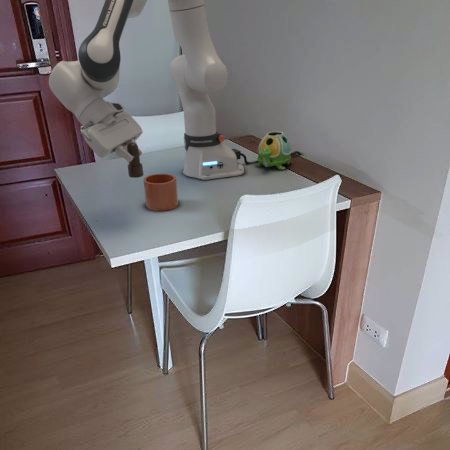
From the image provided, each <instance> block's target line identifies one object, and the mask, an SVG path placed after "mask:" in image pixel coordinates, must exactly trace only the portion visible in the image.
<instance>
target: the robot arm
mask: <svg viewBox="0 0 450 450" xmlns="http://www.w3.org/2000/svg"><path fill="white" fill-rule="evenodd" d="M167 2H168V3H167V4H168V5H167V6H168V9H169V16H170V21H171V25H172V32H173V36H174V40H175V41H176V42H177V44H178V46H180V49H181V50H182V52H183V54H180V55H178V56H176V57H174V58H173V60H172V61H171V62H170V65H169V74H170V78H171V80H172V81H173V83H174V84H175V86H176V89H177V93H178V95H179V99H180V103H181V107H182V112H183V121H184V133H183V146H184V150H185V156H184V157H185V158H184V166H183V171H182V173H183V174H184V175H185V176H187V177H191V178H196V179H199V180H202V181H207V180H214V179H222V178H223V179H224V178H227V177H228V178H231V177H237V176H242V175H243V174H244V173H245V168H244V166H243V165H242V163H239V162H238V160H241V157H243V161H244V163H245V164H246V165H252V164H258V163H259V162H258V160H255V161H251V162H249V161H248V160H247V155H246V154H244V153H242V151H241V150H238V149H237V148H231V147H229V146H227V145H226V144H225V143H224V141H225V136H224V135H223V134H222V133H220V131H217V115H216V113H217V111H216V108H215V106H214V104H213V103H212V101H211V98H210V96H209V94H216V93H220V92H221V91H223V90H224V89H225V88H226V86H227V83H228V80H229V73H228V68H227V66H226V65H225V64H224V62H223V61H222V60H221V58H220V56H219V54H218V53H217V50H216V48H215V45H214V42H213V40H212V37H211V34H210V30H209V24H208V17H207V13H206V6H205V0H167ZM147 3H148V0H104V3H103V6H102V9H101V11H100V14H99V17H98V18H97V22H96V25H95V26H94V28H93V29H92V31H91V32H90V33H89V34H88V35H87V36H86V37H85V38H84V40H83V41H82V42H81V44H80V46H79V48H78V55H77V56H78V60H74V61H73V60H72V61H65V60H61V61H59V62H57V63H56V64H55V65H53V68H52V69H51V70H50V73H49V75H48V86H49V89H50V91H51V92H52V93H53V95H54V96H55V97H56V99H58V101H59V102H60V103H61V104H62V105H63V106H64V107H65V108H66V110H68V111H69V112H71V113H72V114H73V115H74V116H75V118H76V119H77V121H78V122H79V123H80V124H81V126H80V131H79V132H80V134H81V136H82V137H83V138H84V141H85V142H86V144H87V145H88V146H89V148H90V149H91V150H92V151H93V153H95V155H96V156H97V157H99V158H101V159H104V158H106V157H107V156H108V157H109V155H112V154H113V153H115V154H116V155H117V156H119V157H121V158H123V159H125V161H126V162H127V163H129V162H131V161H132V160H133V159H134V156H133V155H132V153H131V152H130V153H128V151H127V150H125V149H124V147H127V146H128V144H129V143H136V144H137V140H138V139H139V138H140V137H141V136H142V135H143V129H142V127H141V125H140V124H139V122H137V121H136V119H134V118H133V116H132V115H131V114H130V113H128V112H127V111H125V107H124V106H123V105H122V104H121V103H119V102H111V101H107V100H105V99H104V98H106V97H107V96H109V95H111V94H112V93H113V92H115V91H116V89H117V88H118V85H119V82H120V66H121V59H122V58H121V57H122V56H121V49H120V41H121V38H122V35H123V33H124V30H125V27H126V24H127V21H128V19H133V18H136V17H138V16H140V15H141V14H142V12H143V10H144V8H145V6H146V4H147ZM137 145H138V144H137ZM138 149H139V157H141V156H142V155H143V151H142V150H141V149H140V148H139V147H138ZM296 154H297V155H298V156H301V155H302V153H301V152H300V151H298V150H295V151H293V152H291V155H290V156H291V157H293V156H294V155H296Z"/></svg>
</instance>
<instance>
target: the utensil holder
mask: <svg viewBox="0 0 450 450" xmlns="http://www.w3.org/2000/svg"><path fill="white" fill-rule="evenodd" d="M143 190H144V200H145V206H146V208H147V209H148V210H151V211H154V212H155V211H156V212H165V211H170V210H173V209H175V208H177V207H178V205H179V199H178V184H177V176H175V175H174V174H171V173H153V174H149V175H147V176H145V177H143Z"/></svg>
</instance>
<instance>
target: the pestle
mask: <svg viewBox="0 0 450 450" xmlns="http://www.w3.org/2000/svg"><path fill="white" fill-rule="evenodd" d="M136 143H137V142H136ZM136 143H129V144H128V146H127V145H126V151H127V152H128V153H130V152H131V153H132V155H133V156H134V159H133V160H132V161H131V162H128V164H127V172H128V177H129V178H132V179H137V178H141V177H144V168H143V163H141V159H140V157H141V156H139V149H140V148H139V145H138V144H136ZM138 148H139V149H138Z"/></svg>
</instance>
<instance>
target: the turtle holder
mask: <svg viewBox="0 0 450 450" xmlns="http://www.w3.org/2000/svg"><path fill="white" fill-rule="evenodd" d="M291 153H292V147H291V143H290V141H289V138H288V136H286V134H285V133H284V132H282V131H279V130H278V131H277V130H275V131H274V130H272V131H269V132H267V133H265V135H264V137H262V138H261V140H260V142H259V144H258V147H257V158H256V159H257V160H256V161H258V163H256V165H257V167H259V168H261V167H262V166H263V167H265V168H269V167H274V166H275V167H276V169H277V170H279V171H283V170H286V167H285V166H283V165H286V166H288V165H290V164H291V158H292V156H290V155H291Z"/></svg>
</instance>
